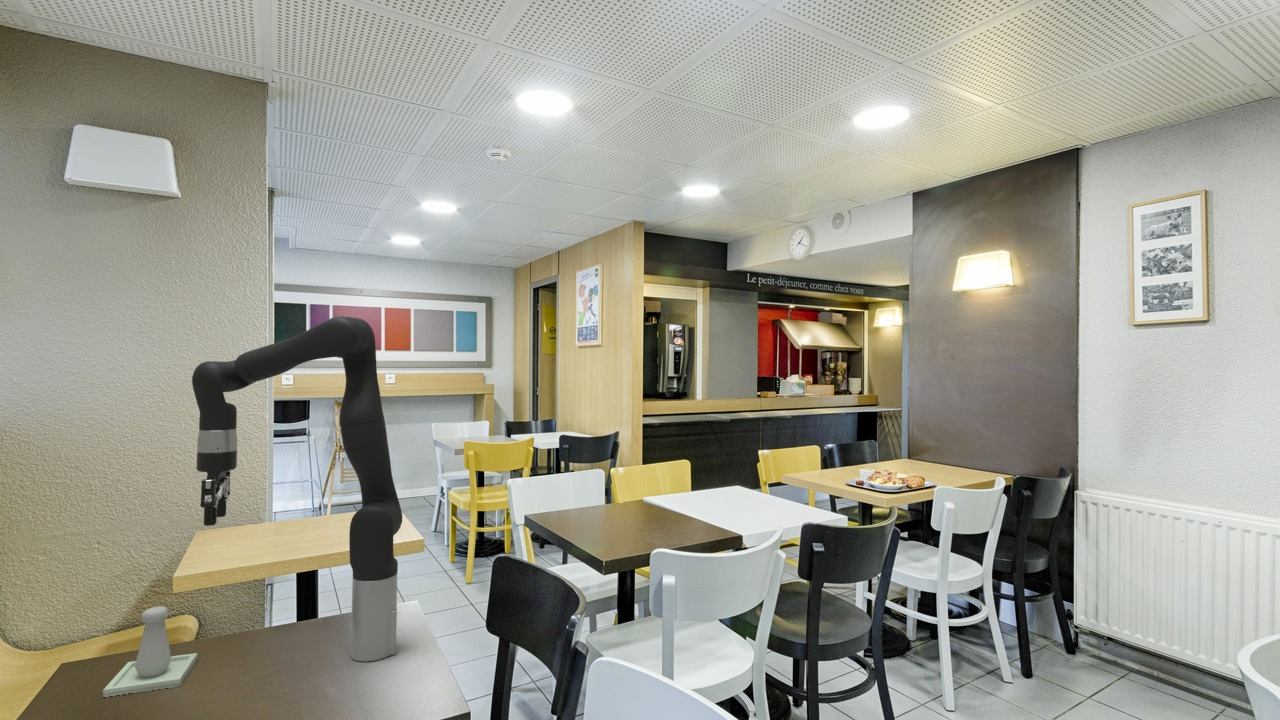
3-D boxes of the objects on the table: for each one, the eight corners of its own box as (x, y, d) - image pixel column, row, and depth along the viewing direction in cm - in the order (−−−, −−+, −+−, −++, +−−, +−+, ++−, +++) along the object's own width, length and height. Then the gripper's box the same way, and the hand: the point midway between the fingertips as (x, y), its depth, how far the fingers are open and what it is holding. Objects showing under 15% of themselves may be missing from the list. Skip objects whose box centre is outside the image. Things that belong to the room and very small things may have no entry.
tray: (197, 660, 132) (197, 653, 132) (179, 686, 121) (179, 679, 121) (128, 669, 128) (128, 662, 128) (102, 697, 117) (103, 689, 117)
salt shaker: (150, 682, 121) (152, 615, 122) (126, 678, 122) (129, 612, 123) (178, 668, 127) (180, 604, 127) (155, 665, 128) (157, 602, 128)
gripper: (229, 452, 135) (226, 527, 135) (243, 445, 148) (241, 512, 148) (188, 453, 132) (185, 529, 132) (206, 446, 145) (204, 515, 145)
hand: (215, 520), depth 140 cm, fingers open, 8 cm apart
